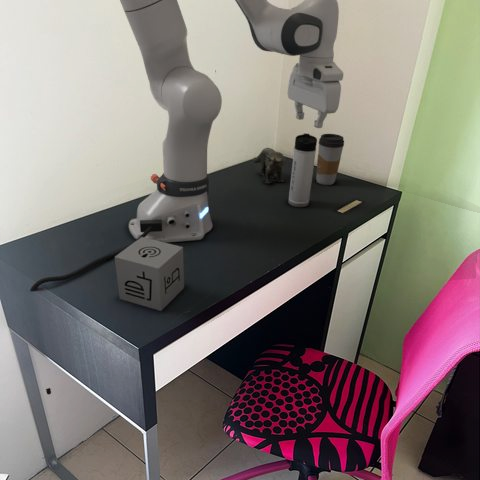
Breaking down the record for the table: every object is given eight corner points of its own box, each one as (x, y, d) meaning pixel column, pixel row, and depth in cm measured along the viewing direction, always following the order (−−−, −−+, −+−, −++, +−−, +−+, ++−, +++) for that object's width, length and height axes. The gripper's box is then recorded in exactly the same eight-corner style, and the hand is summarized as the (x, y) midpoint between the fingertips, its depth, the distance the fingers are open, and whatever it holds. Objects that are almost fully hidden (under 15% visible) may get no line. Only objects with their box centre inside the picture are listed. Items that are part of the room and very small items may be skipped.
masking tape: (342, 213, 144) (342, 212, 144) (337, 211, 145) (337, 210, 145) (362, 202, 152) (362, 201, 151) (356, 200, 153) (356, 200, 152)
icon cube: (161, 311, 98) (158, 268, 93) (119, 298, 101) (114, 256, 96) (184, 287, 106) (183, 247, 100) (145, 277, 109) (141, 236, 103)
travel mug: (308, 200, 151) (317, 134, 139) (308, 208, 146) (317, 140, 134) (288, 198, 151) (295, 132, 140) (288, 206, 146) (295, 138, 134)
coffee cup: (309, 178, 167) (315, 133, 158) (330, 177, 169) (338, 132, 160) (319, 187, 161) (326, 141, 152) (341, 185, 163) (349, 140, 154)
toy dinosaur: (251, 168, 173) (253, 135, 166) (273, 167, 174) (276, 135, 168) (264, 190, 155) (267, 155, 149) (289, 190, 157) (293, 155, 150)
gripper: (284, 62, 133) (280, 115, 141) (327, 75, 118) (319, 133, 126) (303, 61, 135) (298, 113, 143) (347, 74, 120) (339, 131, 129)
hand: (308, 123), depth 135 cm, fingers open, 8 cm apart
